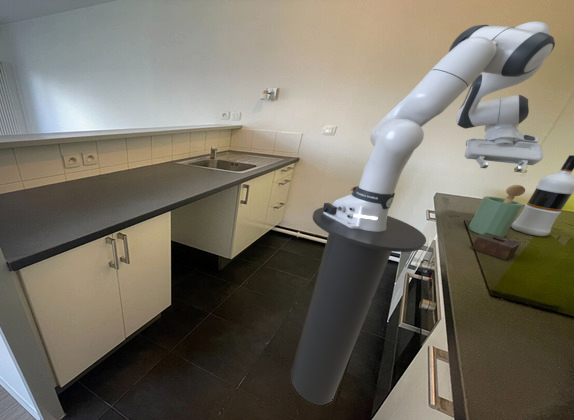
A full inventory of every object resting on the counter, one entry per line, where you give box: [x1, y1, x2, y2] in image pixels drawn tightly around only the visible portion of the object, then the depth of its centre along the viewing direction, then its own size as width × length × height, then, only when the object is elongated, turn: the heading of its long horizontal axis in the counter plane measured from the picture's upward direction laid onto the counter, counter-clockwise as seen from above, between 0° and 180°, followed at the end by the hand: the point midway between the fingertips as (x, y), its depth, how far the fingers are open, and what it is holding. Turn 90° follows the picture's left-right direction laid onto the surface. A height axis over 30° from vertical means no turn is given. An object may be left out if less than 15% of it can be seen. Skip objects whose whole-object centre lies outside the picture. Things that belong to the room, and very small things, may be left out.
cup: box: [468, 195, 524, 238], centre depth 92 cm, size 9×9×13 cm
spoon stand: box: [471, 233, 521, 261], centre depth 79 cm, size 8×8×4 cm
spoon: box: [503, 184, 526, 204], centre depth 89 cm, size 4×2×19 cm, turn 60°
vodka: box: [510, 154, 574, 237], centre depth 91 cm, size 9×9×30 cm
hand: (501, 169), depth 93 cm, fingers open, 8 cm apart
